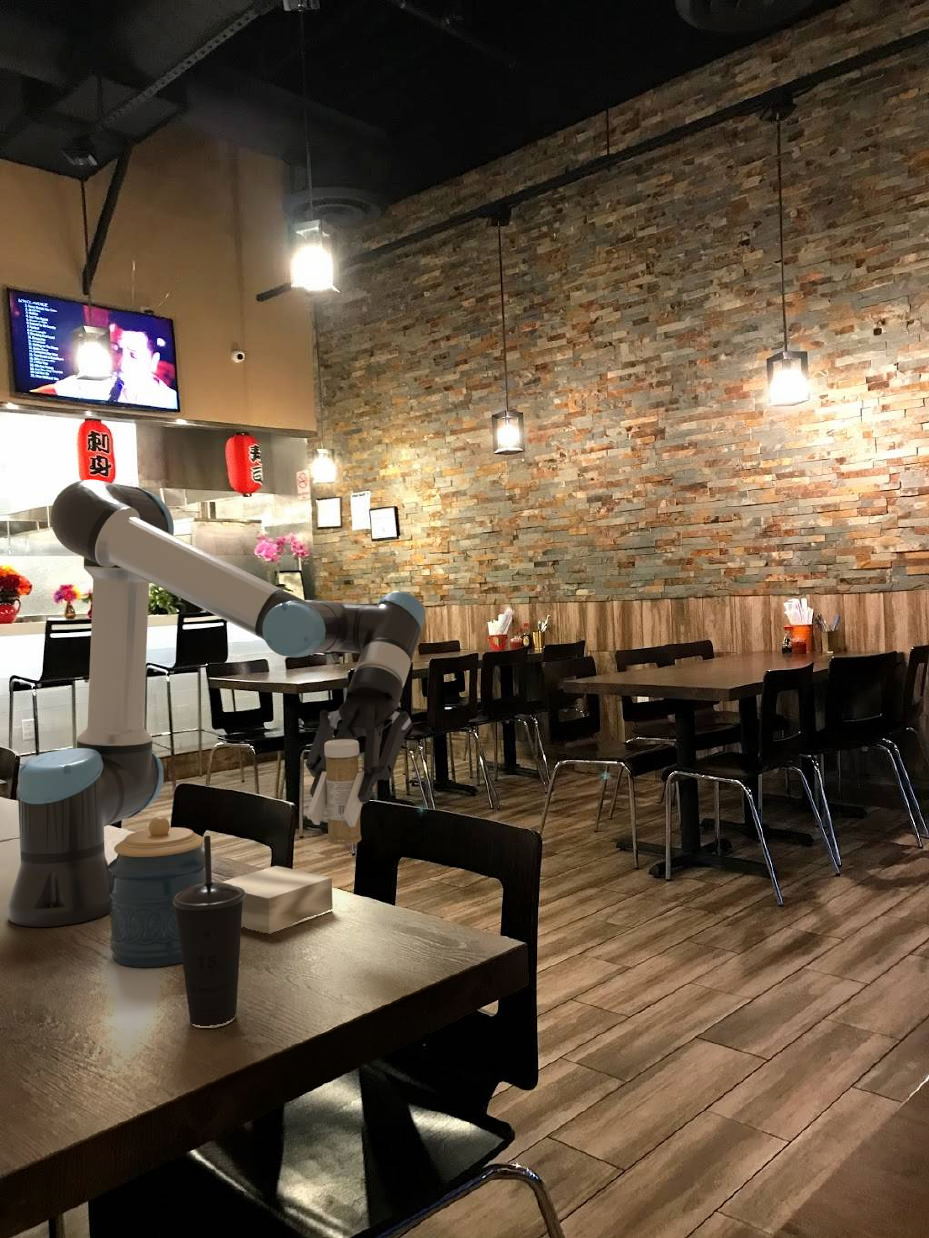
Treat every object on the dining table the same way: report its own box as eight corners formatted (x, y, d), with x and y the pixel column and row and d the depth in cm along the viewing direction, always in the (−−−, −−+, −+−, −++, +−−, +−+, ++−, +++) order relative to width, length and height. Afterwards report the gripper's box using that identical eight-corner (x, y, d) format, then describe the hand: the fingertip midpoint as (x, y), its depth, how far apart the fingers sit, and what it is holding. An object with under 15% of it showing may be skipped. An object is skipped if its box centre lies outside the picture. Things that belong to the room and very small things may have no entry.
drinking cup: (173, 1012, 110) (168, 832, 109) (243, 1000, 112) (238, 825, 112) (179, 1040, 102) (173, 848, 102) (253, 1027, 105) (248, 840, 105)
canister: (235, 944, 131) (231, 812, 131) (154, 977, 120) (150, 832, 120) (170, 928, 138) (166, 803, 138) (89, 957, 128) (84, 821, 127)
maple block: (269, 934, 134) (268, 898, 134) (213, 919, 142) (212, 884, 142) (332, 911, 144) (331, 877, 144) (276, 898, 151) (276, 865, 151)
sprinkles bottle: (362, 836, 134) (359, 737, 133) (360, 845, 129) (357, 742, 129) (328, 838, 133) (325, 738, 133) (325, 846, 129) (322, 743, 129)
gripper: (441, 698, 143) (401, 839, 127) (332, 696, 148) (281, 832, 133) (428, 664, 138) (385, 807, 122) (315, 664, 143) (260, 800, 128)
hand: (331, 819), depth 128 cm, fingers closed on sprinkles bottle, 4 cm apart
